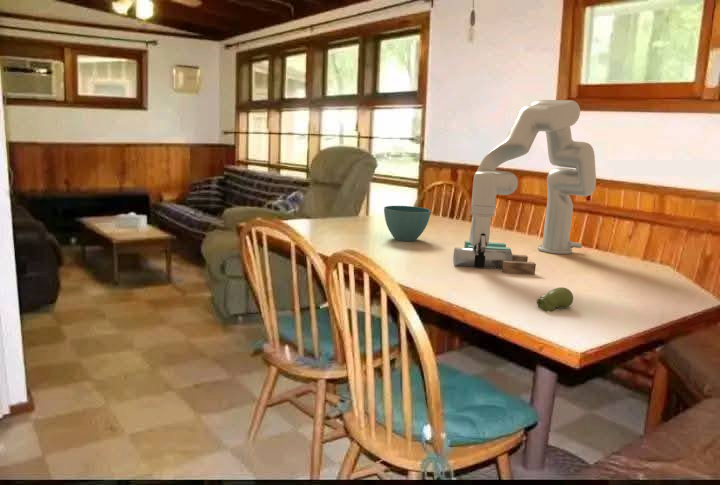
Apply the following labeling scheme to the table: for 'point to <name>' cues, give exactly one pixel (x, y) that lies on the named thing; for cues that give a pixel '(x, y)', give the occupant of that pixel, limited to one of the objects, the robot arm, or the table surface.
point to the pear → (555, 299)
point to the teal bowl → (406, 221)
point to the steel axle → (491, 257)
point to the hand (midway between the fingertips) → (477, 264)
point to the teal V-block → (490, 246)
